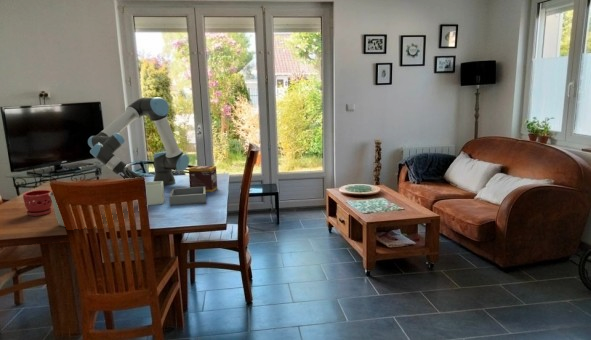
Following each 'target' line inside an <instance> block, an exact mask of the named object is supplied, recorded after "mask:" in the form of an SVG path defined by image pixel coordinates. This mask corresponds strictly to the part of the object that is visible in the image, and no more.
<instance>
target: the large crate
mask: <svg viewBox="0 0 591 340" xmlns="http://www.w3.org/2000/svg"><path fill="white" fill-rule="evenodd" d="M168 199H169V206H170V207H171V206H186V205H198V204H206V203H207V192H206V190H205V187H191V188H190V187H180V188H171V190H170V194H169V196H168Z"/></svg>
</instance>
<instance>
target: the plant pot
mask: <svg viewBox="0 0 591 340" xmlns="http://www.w3.org/2000/svg"><path fill="white" fill-rule="evenodd" d="M52 191H53V190H50V189H46V190H45V189H39V190H31V191H27V192H24V193H23V194H22V198H23V202H24V203H23V204H24V206H25V208H26V209H27V211H26V214H27V215H28V216H32V217H34V216H35V217H37V216H44V215H48V214H50V213H51V212H52V211H53V209H52V206H53V204H52V200H51V196H49V193H51V192H52Z"/></svg>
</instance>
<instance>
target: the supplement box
mask: <svg viewBox="0 0 591 340" xmlns="http://www.w3.org/2000/svg"><path fill="white" fill-rule="evenodd" d="M188 178H189V188H191V187H205V190H206V193H213V192H214V191H215V190H218V176H217V165H194V166H191V167H189V168H188Z"/></svg>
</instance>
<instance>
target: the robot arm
mask: <svg viewBox="0 0 591 340" xmlns="http://www.w3.org/2000/svg"><path fill="white" fill-rule="evenodd" d="M169 110H170V105H169V103H168V101H166V99H165V98H163V97H158V96H153V97H141V98H140V97H139V98H138V99H136V100H134V101H132V103H131V104H129V105H128V106H127V107H126V108H125V111H124V112H122V113H121V114H120V115H118V117H116V118H115V119H114V120H113V121H112V122H111V123H110V124H108V125H107V126H106V127H105V128H103V130H101V131H100V132H99V133H98V134H96V135H91V136H90V137H89V138H88V139H87V144H88V146H89V147H90V148H91V149H90V150H89V153H90V154H91V155H92V156H93V157H94V158H95V159H96V160H98V161H99V162H101V164H104V166H106V168H107V169H110V170H111V171H112V172H113V173H114V174H116V175H118V174H119V176H120V177H122V178H123V180H125V178H135V177H141V178H142V175H139V174H137V173H136V172H134V171H133V170H131V169H129V167H126V166H127V164H126V163H125V162H124V161H123V160H121V159H120V158H119V157H118V156H116V155H115V154H114V153H115V152H116V151H117V150H118V149H119V148H121V147H122V145H123V144H124V143H125V137H124V136H123V135H122V134H121V132H122V131H123V130H125V129H126V128H127V127H128V126H130V124H132V122H134V121H135V120H139V119H140V118H141V117H144V116H146V117H149V119H150V121H152V122H153V124H154V127H155V128H156V130H157V132H158V136H159V138H160V139H161V142H162V144H163V147H164V151H160V152H155V153H154V154H153V166H154V177H153V180H152V182H155V181H163V186H170V185H174V184H175V183H176V178H175V176H174V173H173V171H178V172H180V171H181V172H182V171H185V170H187V168H188V167H189V165H190V158H189V156H188V155H187V154H186V153H184V152H183V150H182V149H181V148H180V147H179V146H178V143H177V140H176V138H175V135H174V133H173V129H172V128H171V127H172V126H171V125H170V122H169V120H168V116H169V114H168V113H169Z"/></svg>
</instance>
